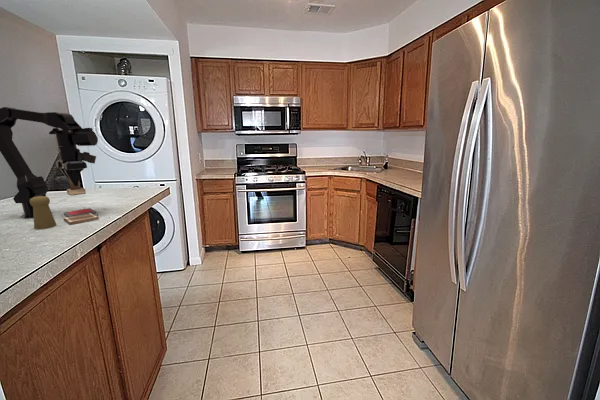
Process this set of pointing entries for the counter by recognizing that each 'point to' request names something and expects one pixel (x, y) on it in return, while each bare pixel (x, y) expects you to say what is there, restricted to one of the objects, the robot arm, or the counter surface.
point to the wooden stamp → (75, 189)
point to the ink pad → (79, 212)
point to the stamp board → (81, 218)
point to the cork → (42, 213)
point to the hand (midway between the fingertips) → (75, 185)
